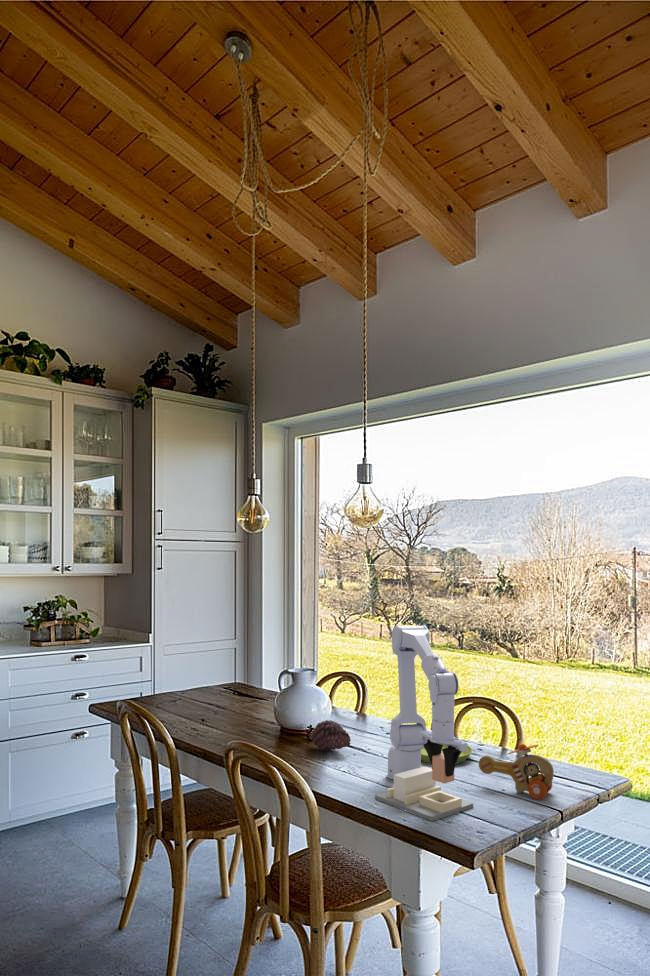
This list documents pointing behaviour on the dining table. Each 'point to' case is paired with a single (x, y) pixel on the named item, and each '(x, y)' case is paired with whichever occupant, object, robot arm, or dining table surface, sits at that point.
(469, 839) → the dining table surface
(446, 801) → the assembly jig
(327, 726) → the pine cone
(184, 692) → the dining table surface
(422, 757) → the saucer
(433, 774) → the block
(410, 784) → the block
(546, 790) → the toy helicopter
